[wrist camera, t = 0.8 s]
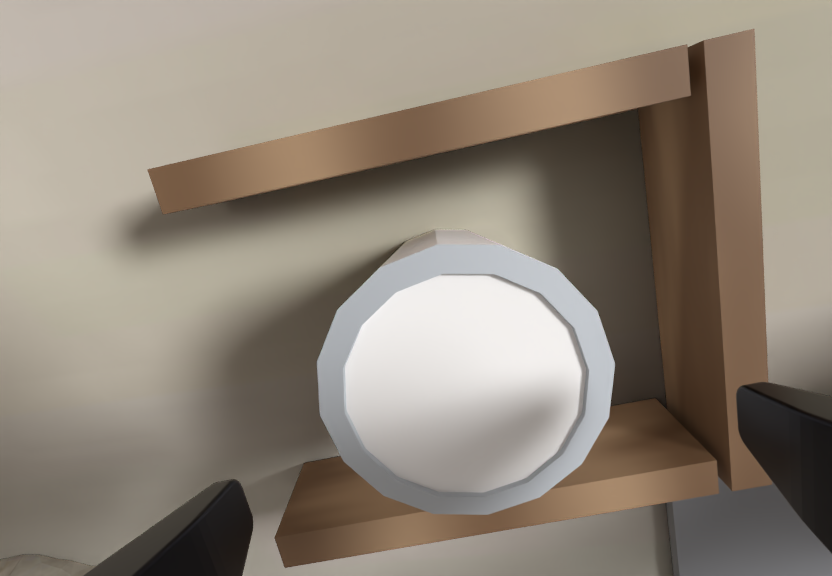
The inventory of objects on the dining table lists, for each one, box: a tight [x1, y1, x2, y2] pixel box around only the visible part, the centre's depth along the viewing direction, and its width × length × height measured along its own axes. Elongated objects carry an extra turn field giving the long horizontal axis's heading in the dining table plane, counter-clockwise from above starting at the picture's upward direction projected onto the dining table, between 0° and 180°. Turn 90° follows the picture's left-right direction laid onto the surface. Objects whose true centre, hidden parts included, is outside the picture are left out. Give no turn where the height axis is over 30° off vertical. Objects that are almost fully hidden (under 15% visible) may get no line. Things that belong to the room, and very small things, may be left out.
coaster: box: [666, 477, 832, 576], centre depth 19 cm, size 9×9×1 cm
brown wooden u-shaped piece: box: [148, 29, 772, 568], centre depth 16 cm, size 16×13×4 cm
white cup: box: [317, 229, 615, 515], centre depth 14 cm, size 7×7×7 cm
